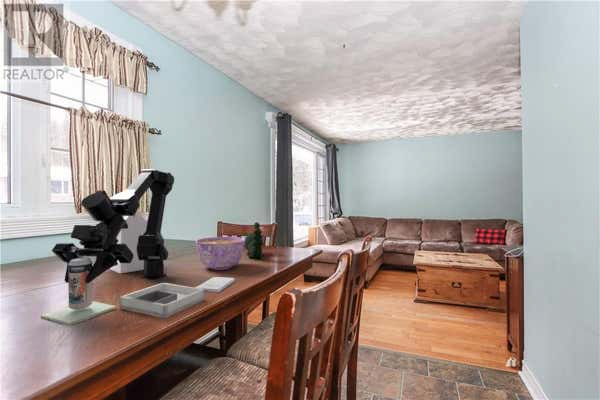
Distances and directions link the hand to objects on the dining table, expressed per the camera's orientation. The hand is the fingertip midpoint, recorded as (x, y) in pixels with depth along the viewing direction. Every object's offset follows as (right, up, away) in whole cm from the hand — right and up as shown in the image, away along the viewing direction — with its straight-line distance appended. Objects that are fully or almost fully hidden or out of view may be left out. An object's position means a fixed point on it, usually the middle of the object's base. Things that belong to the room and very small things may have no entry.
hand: (76, 282), depth 72 cm
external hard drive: (+27, -9, +25) cm, 38 cm away
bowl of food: (+22, -8, +49) cm, 55 cm away
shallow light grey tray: (+18, -8, +8) cm, 21 cm away
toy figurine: (+33, -8, +72) cm, 80 cm away
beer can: (0, -7, +1) cm, 7 cm away
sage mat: (0, -8, +1) cm, 8 cm away
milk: (-14, -8, +47) cm, 50 cm away
